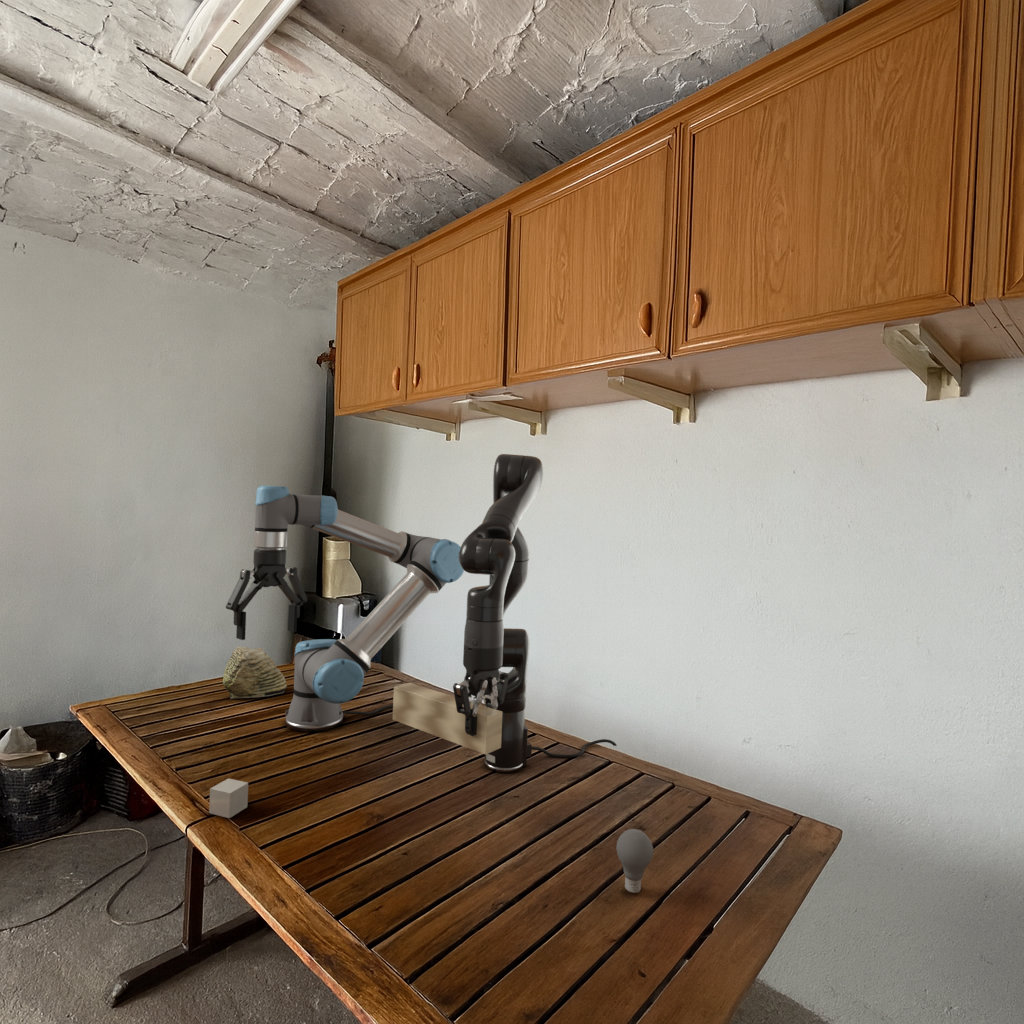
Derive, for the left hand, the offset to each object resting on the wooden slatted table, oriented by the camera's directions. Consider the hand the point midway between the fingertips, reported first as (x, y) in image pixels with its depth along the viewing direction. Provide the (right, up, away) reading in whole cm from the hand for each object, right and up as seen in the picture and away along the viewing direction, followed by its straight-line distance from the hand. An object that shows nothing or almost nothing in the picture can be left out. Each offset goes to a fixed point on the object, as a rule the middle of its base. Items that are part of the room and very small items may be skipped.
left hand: (267, 635), depth 155 cm
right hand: (+54, -12, -34) cm, 65 cm away
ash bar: (+46, -14, -28) cm, 56 cm away
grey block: (+3, -29, -29) cm, 41 cm away
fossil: (-21, -27, +43) cm, 55 cm away
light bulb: (+80, -33, -50) cm, 100 cm away
